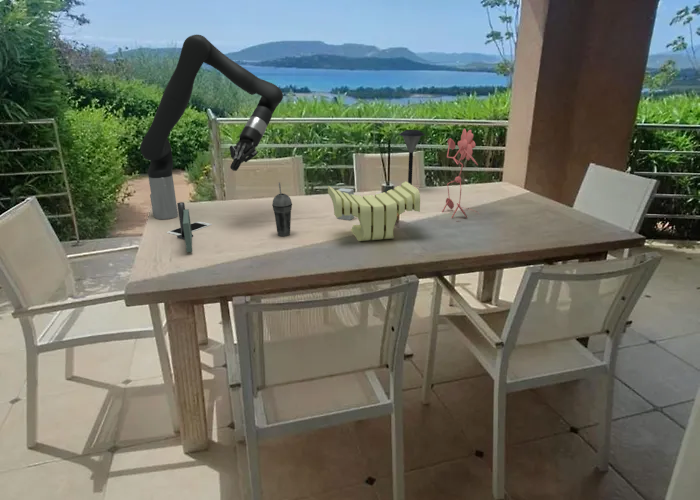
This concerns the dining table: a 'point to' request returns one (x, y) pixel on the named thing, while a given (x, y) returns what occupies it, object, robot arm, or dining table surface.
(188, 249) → the green rectangular panel
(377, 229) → the slatted curved stool
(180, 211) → the post
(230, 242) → the dining table surface
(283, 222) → the beverage cup
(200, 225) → the cell phone
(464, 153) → the figurine
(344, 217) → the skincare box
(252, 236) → the dining table surface
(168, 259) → the dining table surface
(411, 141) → the solar garden light
